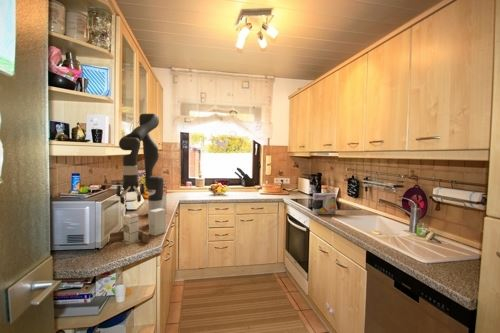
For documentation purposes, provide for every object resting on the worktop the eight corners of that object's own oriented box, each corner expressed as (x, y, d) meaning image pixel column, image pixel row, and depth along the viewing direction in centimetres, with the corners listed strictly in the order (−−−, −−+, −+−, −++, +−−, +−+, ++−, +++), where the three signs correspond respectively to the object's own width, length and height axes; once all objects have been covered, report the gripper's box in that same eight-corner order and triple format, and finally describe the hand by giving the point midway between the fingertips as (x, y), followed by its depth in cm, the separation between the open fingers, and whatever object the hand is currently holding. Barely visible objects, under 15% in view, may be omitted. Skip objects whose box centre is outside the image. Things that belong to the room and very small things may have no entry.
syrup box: (138, 239, 148) (138, 214, 147) (129, 242, 143) (129, 216, 142) (132, 238, 151) (132, 213, 150) (123, 240, 146) (122, 215, 145)
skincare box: (159, 231, 166) (159, 207, 165) (166, 232, 163) (166, 208, 162) (148, 234, 159) (148, 210, 158) (155, 236, 156) (155, 211, 155)
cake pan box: (313, 215, 215) (313, 193, 214) (311, 213, 220) (311, 192, 219) (335, 215, 217) (336, 193, 216) (333, 213, 222) (334, 192, 221)
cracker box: (166, 214, 211) (166, 188, 210) (161, 215, 206) (161, 189, 205) (153, 212, 217) (153, 187, 216) (148, 213, 212) (147, 188, 211)
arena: (107, 242, 144) (107, 233, 143) (137, 236, 155) (137, 228, 155) (117, 250, 132) (117, 240, 132) (149, 243, 144) (148, 234, 143)
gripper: (140, 172, 152) (140, 200, 153) (114, 174, 142) (114, 203, 143) (145, 173, 147) (146, 202, 148) (119, 175, 137) (119, 205, 138)
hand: (130, 202), depth 146 cm, fingers open, 8 cm apart
